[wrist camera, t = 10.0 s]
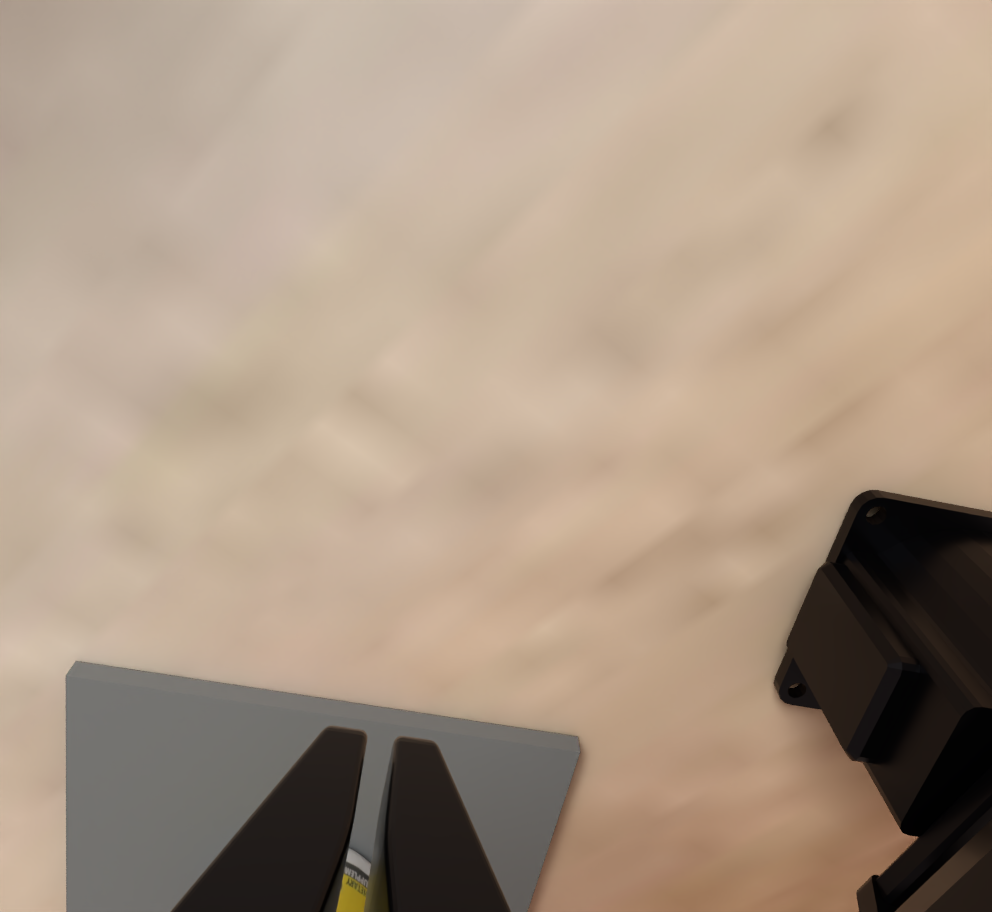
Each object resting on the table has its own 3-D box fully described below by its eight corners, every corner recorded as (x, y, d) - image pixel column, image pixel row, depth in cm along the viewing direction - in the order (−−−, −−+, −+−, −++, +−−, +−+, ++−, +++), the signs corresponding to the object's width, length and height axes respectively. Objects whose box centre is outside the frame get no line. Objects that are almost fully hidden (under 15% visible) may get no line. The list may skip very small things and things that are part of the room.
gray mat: (577, 736, 24) (580, 751, 23) (480, 1034, 29) (480, 1052, 29) (75, 661, 22) (66, 675, 22) (74, 989, 28) (67, 1007, 27)
